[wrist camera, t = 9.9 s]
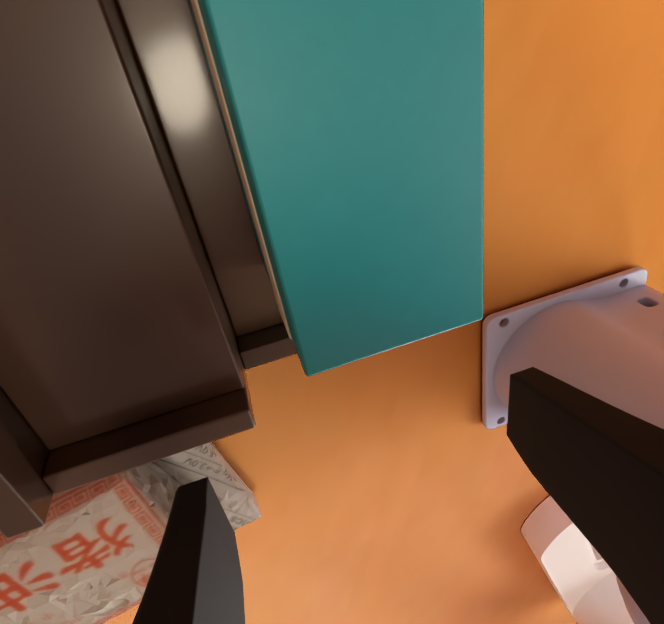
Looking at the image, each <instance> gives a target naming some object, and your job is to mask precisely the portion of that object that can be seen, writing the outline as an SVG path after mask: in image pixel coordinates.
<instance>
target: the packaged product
mask: <svg viewBox="0 0 664 624" xmlns="http://www.w3.org/2000/svg"><path fill="white" fill-rule="evenodd" d="M205 477H208V478H209V480H210V483H211V485H212V487H213V489H214V491H215V493H216V495H217V497H218V499H219V501H220V503H221V505H222V507H223V510H224V512H225V514H226V516H227V518H228V520H229V522H230V524H231V526H232V528H233V530H235V529H237V528H240V527H242V526H243V525H245V524H248V523H250V522H253V521H255V520H256V519H258V518H260V516H261V512H260V509H259V507H258V504H257V502H256V499H255V496H254V494H253V492H252V491H251V490H250V489H249V488H248V487H247V485H246V484H245V483H244V482H243V481H242V479H241V478H240V477H239V476H238V475H237V473H236V472H235V471H234V470H233V469H232V467H231V466H230V465H229V464H228V463H227V461H226V460H225V459H224V458H223V457H222V455H221V454H220V453H219V452H218V450H217V449H216V448H215V447H214V445H213V444H212V443H211V442H210V443H207V444H204V445H201V446H198V447H195V448H192V449H189V450H186V451H183V452H180V453H177V454H174V455H171V456H168V457H165V458H162V459H159V460H157V461H154V462H151V463H148V464H145V465H142V466H139V467H136V468H133V469H130V470H127V471H124V472H121V473H118V474H115V475H112V476H109V477H106V478H103V479H100V480H97V481H94V482H91V483H88V484H86V485H83V486H80V487H77V488H74V489H71V490H68V491H65V492H62V493H59V494H53V497H52V501H51V505H50V508H49V512H48V515H47V519H46V522H45V524H44V526H42V527H40V528H37V529H34V530H31V531H28V532H25V533H22V534H19V535H16V536H14V537H11V538H7V537H6V536H5V535H4V534H3V533H2V532H1V531H0V624H103V623H105V622H106V621H108V620H109V619H111V618H113V617H115V616H117V615H120V614H122V613H124V612H126V611H127V610H129V609H131V608H133V607H134V606H136V605H138V604H140V603H141V600H142V598H143V595H144V592H145V589H146V586H147V583H148V580H149V577H150V575H151V572H152V569H153V566H154V563H155V560H156V557H157V554H158V551H159V548H160V545H161V542H162V538H163V535H164V532H165V529H166V525H167V522H168V518H169V515H170V511H171V508H172V504H173V500H174V496H175V492H176V490H177V489H178V487H179V486H182V485H185V484H188V483H191V482H194V481H197V480H200V479H202V478H205Z"/></svg>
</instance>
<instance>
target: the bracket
mask: <svg viewBox="0 0 664 624" xmlns="http://www.w3.org/2000/svg"><path fill="white" fill-rule="evenodd" d="M521 533H522V535H523V536H524V538H525V540H526V542H527V543H528V545H529V547H530V548H531V550H532V552H533V554H534V555H535V557H536V559H537V560H538V562H539V564H540V566H541V567H542V569H543V571H544V572H545V574H546V576H547V578H548V579H549V581H550V583H551V584H552V586H553V588H554V590H555V591H556V593H557V595H558V596H559V597H560V599H561V600H562V602H563V603H564V605H565V606H566V608H567V609H568V611H569V612H570V613H571V615H572V616H573V618H574V619H575V621H576V622H577V624H634V622H633V620H632V619H631V617H630V615H629V613H628V611H627V608H626V606H625V603H624V600H623V597H622V595H621V593H620V590H619V587H618V583H617V580H616V574H615V573H614V572H613V571H612V569H611V568H610V567H609V566H608V564H607V563H606V562H605V560H604V559H603V558H602V557H601V555H600V554H599V553H598V552H597V551H596V549H595V548H594V547H593V546H592V545H591V543H590V542H589V541H588V540H587V539H586V538H585V536H584V535H583V534H582V533H581V532H580V530H579V529H578V528H577V527H576V526H575V524H574V523H573V522H572V521H571V520H570V519H569V517H568V516H567V515H566V514H565V513H564V511H563V510H562V509H561V508H560V507H559V505H558V504H557V503H556V502H555V501H554V499H553V498H552V497H551V496H549V497H548V498H546V499H545V500H544V501H543V502H542V503H541V504H540V505H539V506H538V507H537V508H536V509H535V510H534V511H533V512H532V513H531V514H530V515H529V517H528V518H527V519H526V521H525V522H524V524H523V526H522V528H521Z"/></svg>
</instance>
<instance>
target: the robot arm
mask: <svg viewBox="0 0 664 624" xmlns="http://www.w3.org/2000/svg"><path fill="white" fill-rule="evenodd" d="M646 279H647V270H646V269H644V268H642V267H634V268H631V269H628V270H625V271H622V272H619V273H616V274H613V275H610V276H606V277H603V278H600V279H597V280H594V281H591V282H588V283H585V284H582V285H579V286H576V287H573V288H570V289H567V290H564V291H561V292H557V293H554V294H551V295H548V296H545V297H542V298H539V299H536V300H533V301H530V302H527V303H524V304H521V305H518V306H515V307H512V308H508V309H505V310H502V311H499V312H496V313H493V314H491V315H489V316H487V317H486V318H485V320H484V321H483V335H482V423H483V425H484V426H485V427H486V428H487V429H494V428H497V427H499V426H502V425H505V424H507V436H508V438H509V439H510V441H511V442H512V444H513V445H514V447H515V449H516V450H517V452H518V453H519V455H520V456H521V458H522V459H523V461H524V462H525V464H526V465H527V467H528V468H529V470H530V471H531V473H532V474H533V475H534V476H535V478H536V479H537V480H538V481H539V483H540V484H541V485H542V486H543V487H544V489H545V490H546V491H547V492H548V493H549V495H550V496H551V497H552V498H553V499H554V501H555V502H556V503H557V504H558V505H559V507H560V508H561V509H562V510H563V511H564V513H565V514H566V515H567V516H568V517H569V519H570V520H571V521H572V522H573V523H574V524H575V526H576V527H577V528H578V529H579V530H580V532H581V533H582V534H583V535H584V536H585V538H586V539H587V540H588V541H589V542H590V543H591V545H592V546H593V547H594V548H595V549H596V551H597V552H598V553H599V554H600V555H601V557H602V558H603V559H604V560H605V562H606V563H607V564H608V566H609V567H610V568H611V569H612V571H613V572H614V573H615V574H616V580H617V583H618V587H619V590H620V593H621V595H622V597H623V600H624V603H625V606H626V608H627V611H628V613H629V615H630V617H631V619H632V620H633V622H634V624H664V294H662V293H660V292H658V291H656V290H654V289H652V288H650V287H648V286H646V285H645V283H646ZM502 319H504V320H503V321H502V322H501V320H502ZM500 322H501V323H500ZM132 624H245V613H244V597H243V581H242V575H241V568H240V562H239V556H238V550H237V544H236V538H235V532H234V530H233V528H232V526H231V524H230V522H229V520H228V518H227V516H226V514H225V512H224V510H223V507H222V505H221V503H220V501H219V499H218V497H217V495H216V493H215V491H214V489H213V487H212V485H211V483H210V480H209V478H208V477H205V478H202V479H200V480H197V481H194V482H191V483H188V484H185V485H182V486H179V487H178V489H177V490H176V492H175V496H174V500H173V504H172V508H171V511H170V515H169V518H168V522H167V525H166V529H165V532H164V535H163V538H162V542H161V545H160V548H159V551H158V554H157V557H156V560H155V563H154V566H153V569H152V572H151V575H150V577H149V580H148V583H147V586H146V589H145V592H144V595H143V598H142V600H141V603H140V606H139V608H138V611H137V613H136V616H135V618H134V621H133V623H132Z"/></svg>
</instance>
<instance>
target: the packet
mask: <svg viewBox="0 0 664 624" xmlns="http://www.w3.org/2000/svg"><path fill="white" fill-rule="evenodd" d="M187 1H188V4H189V8H190V11H191V15H192V18H193V22H194V25H195V29H196V32H197V36H198V39H199V43H200V46H201V49H202V53H203V56H204V60H205V63H206V67H207V70H208V74H209V77H210V81H211V84H212V88H213V91H214V95H215V98H216V101H217V105H218V108H219V112H220V115H221V119H222V122H223V126H224V129H225V133H226V136H227V140H228V143H229V146H230V150H231V153H232V157H233V160H234V164H235V167H236V171H237V174H238V178H239V181H240V185H241V188H242V192H243V195H244V198H245V202H246V205H247V209H248V212H249V216H250V219H251V223H252V226H253V230H254V233H255V237H256V240H257V243H258V247H259V250H260V254H261V257H262V261H263V264H264V267H265V270H266V272H267V275H268V277H269V280H270V283H271V285H272V288H273V291H274V294H275V298H276V302H277V305H278V309H279V312H280V314H281V317H282V320H283V322H284V325H285V328H286V330H287V333H288V336H289V338H290V339H292V340H293V343H294V346H295V348H296V351H297V354H298V356H299V359H300V361H301V364H302V367H303V369H304V372H305V374H306V375H307V376H312V375H315V374H318V373H321V372H324V371H327V370H330V369H333V368H336V367H339V366H342V365H345V364H348V363H351V362H354V361H357V360H360V359H363V358H367V357H370V356H373V355H376V354H379V353H382V352H385V351H388V350H391V349H394V348H397V347H400V346H403V345H406V344H409V343H412V342H415V341H418V340H421V339H424V338H428V337H431V336H434V335H437V334H440V333H443V332H446V331H449V330H452V329H455V328H458V327H461V326H464V325H467V324H470V323H473V322H476V321H479V320H482V319H483V68H484V0H187Z"/></svg>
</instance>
